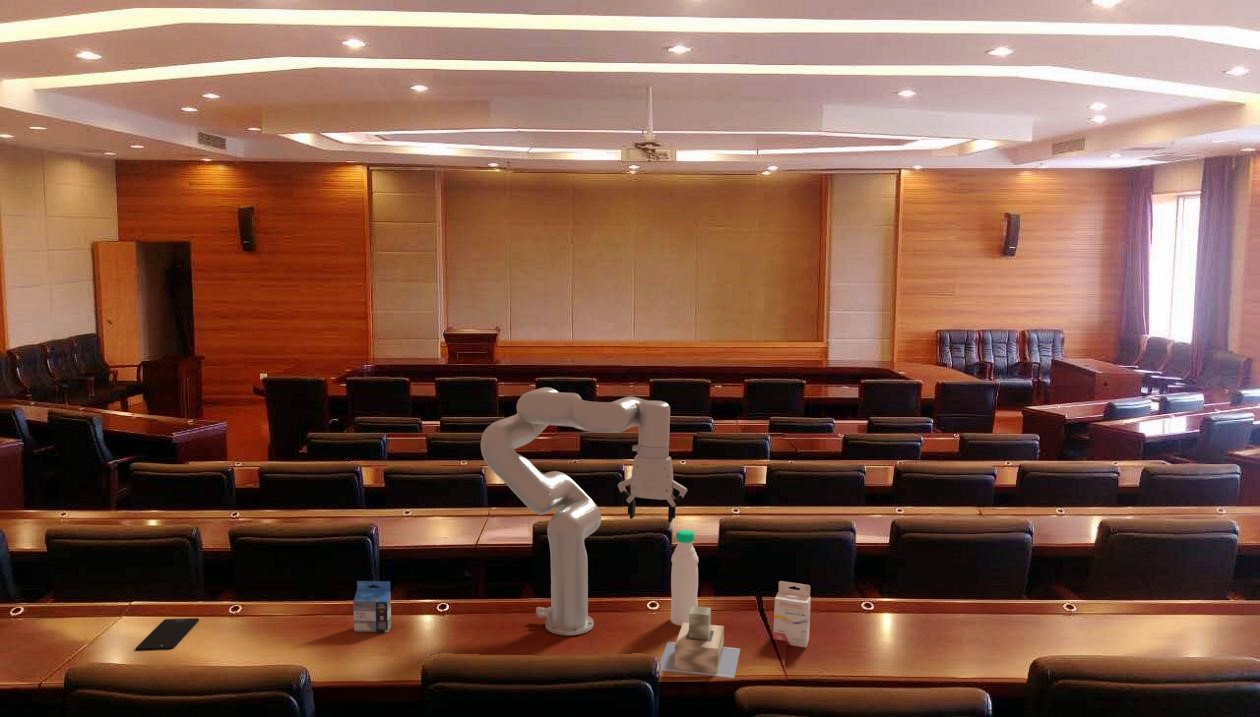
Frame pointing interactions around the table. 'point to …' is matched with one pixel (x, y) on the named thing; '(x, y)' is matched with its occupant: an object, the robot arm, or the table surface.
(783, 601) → the ink cartridge box
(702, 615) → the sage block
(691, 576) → the water bottle
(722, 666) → the board
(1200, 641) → the table surface
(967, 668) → the table surface
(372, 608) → the label tape cartridge
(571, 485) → the robot arm
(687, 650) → the plinth
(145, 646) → the cell phone
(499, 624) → the table surface
